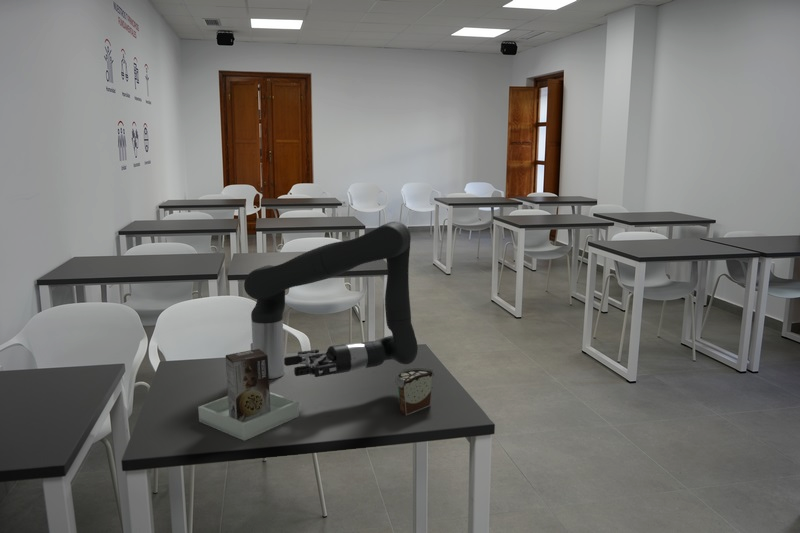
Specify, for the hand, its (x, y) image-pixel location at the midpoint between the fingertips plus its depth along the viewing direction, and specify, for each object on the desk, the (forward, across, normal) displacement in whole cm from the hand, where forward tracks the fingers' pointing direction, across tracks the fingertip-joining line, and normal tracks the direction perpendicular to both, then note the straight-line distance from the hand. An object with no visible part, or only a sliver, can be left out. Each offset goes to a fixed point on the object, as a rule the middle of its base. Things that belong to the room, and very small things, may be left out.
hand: (289, 366), depth 166 cm
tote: (+11, 0, +12) cm, 16 cm away
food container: (-29, +12, +12) cm, 34 cm away
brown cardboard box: (+11, 0, +11) cm, 16 cm away
